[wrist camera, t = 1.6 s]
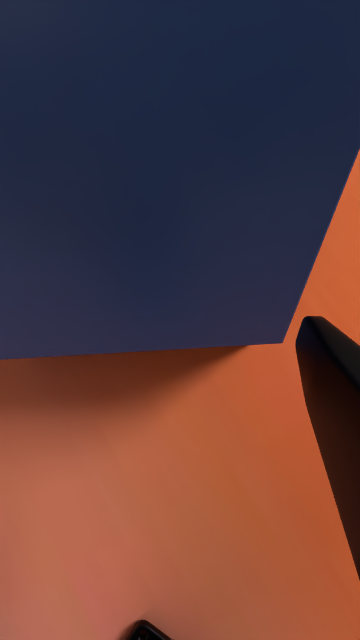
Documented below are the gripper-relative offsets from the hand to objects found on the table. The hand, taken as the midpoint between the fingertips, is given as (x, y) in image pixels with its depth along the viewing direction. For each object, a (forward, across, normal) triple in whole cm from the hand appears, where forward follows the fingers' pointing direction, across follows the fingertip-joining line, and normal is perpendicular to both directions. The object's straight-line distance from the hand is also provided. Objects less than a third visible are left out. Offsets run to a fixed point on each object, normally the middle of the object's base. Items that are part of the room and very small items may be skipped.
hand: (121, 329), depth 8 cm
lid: (+4, +1, -1) cm, 4 cm away
